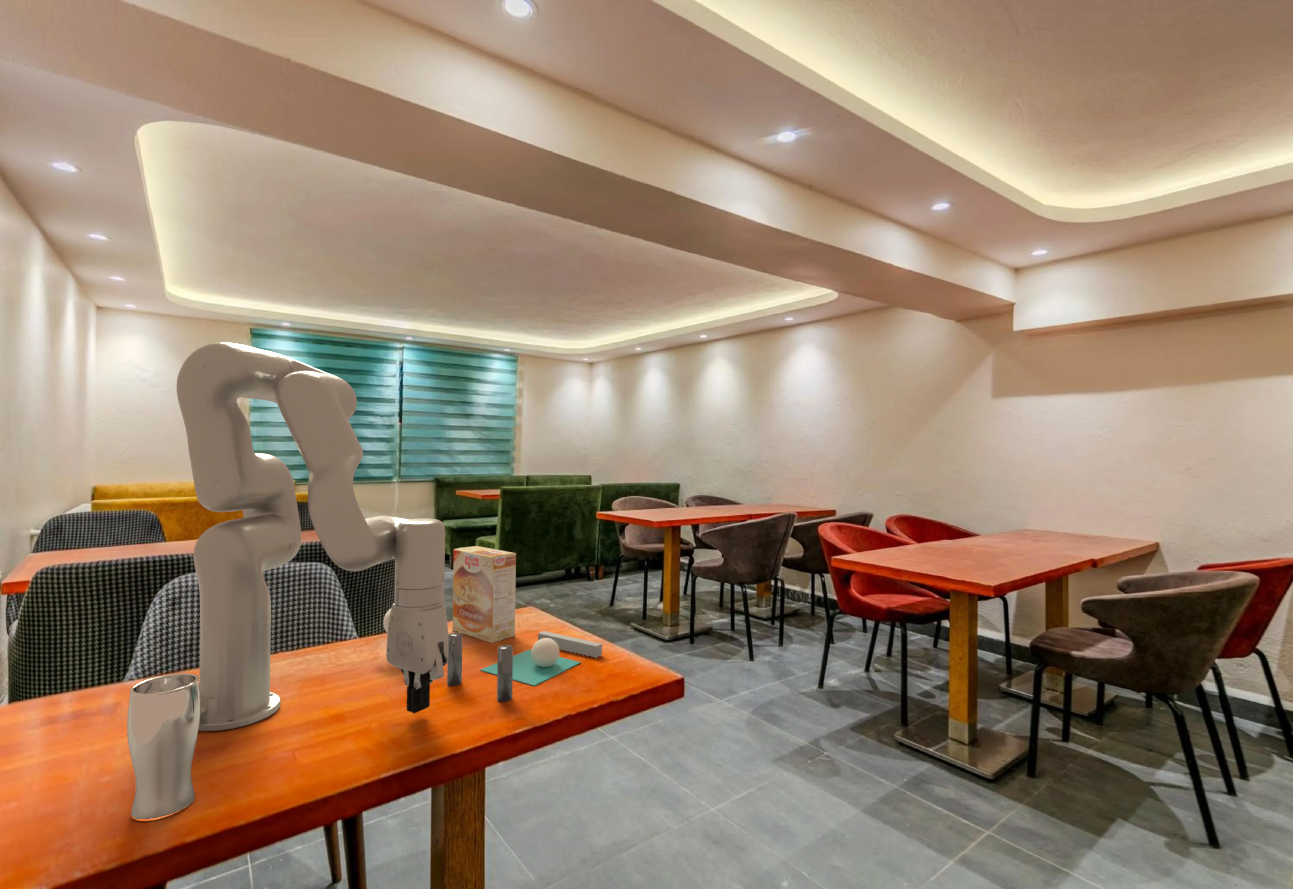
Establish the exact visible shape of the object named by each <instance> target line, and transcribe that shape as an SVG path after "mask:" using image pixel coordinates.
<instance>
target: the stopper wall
mask: <svg viewBox="0 0 1293 889" xmlns="http://www.w3.org/2000/svg"><path fill="white" fill-rule="evenodd" d="M543 638H550V639H552V640H554V641H555V642H556V643H557V644H558V646H559V649H560V651H564V650H565V651H564V652H568V651H569V652H568V653H572V652H573V653H572V654H576V653H578V654H577V655H580V654H582V655H581V656H584V655H586V656H585V657H589V656H591V657H590V658H593V657H595V658H594V659H598V658H600V657H602V656H603V643H601V642H596V641H592V640H587V639H583V638H577V637H574V636H568V635H564V634H560V633H555V632H551V631H546V630H543V631H540V632H538V633H537V641H538V640H540V639H543ZM601 655H602V656H601ZM599 656H600V657H599ZM597 657H598V658H597Z"/></svg>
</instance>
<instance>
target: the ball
mask: <svg viewBox="0 0 1293 889" xmlns="http://www.w3.org/2000/svg"><path fill="white" fill-rule="evenodd" d="M531 650H532V651H531V656H532V659H533V661H534V663H535V664H536V665H538V666H540V667H550V666H552V665H553V664H555V662H556V661H557V660H558V658H559V657H560V654H561V653H560V651H561V650H559V646H558V644H557V643H556V642H555V641H554V640H552V639H550V638H543V639H540V640H538V639H537V641H535V643H534V644H533V646H532V648H531Z"/></svg>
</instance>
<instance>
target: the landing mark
mask: <svg viewBox="0 0 1293 889" xmlns="http://www.w3.org/2000/svg"><path fill="white" fill-rule="evenodd" d="M531 651H532V649H527V650H524V651H522V652H520V653H518V654H514V655H513V680H512V681H515V682H519V683H522V684H524V685H530V686H532V687H535V686H538V685H540V684H541V683H542V684H543V683H544V682H546V681H548V680H550V679H552V678H554V677H556V676H557V675H560V674H562V673H565V672H566V671H567V669H568V670H570V669H572V668H574V667H576V666H578V665H580V664H582V661H577V660H574V659H569V658H565V657H561V656H559V658H558V660H557V661H556V662H555V664H553V665H552V666H550V667H540V666H538V665H536V664H535V663H534V661H533V659H532V656H531ZM579 663H580V664H579ZM577 664H578V665H577ZM573 666H574V667H573ZM571 667H572V668H571ZM480 671H481V672H484V673H487V674H490V675H494V676H497V662H495V663H493V664H490V665H488V666H485V667H484V668H481V669H480Z"/></svg>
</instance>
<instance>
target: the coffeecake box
mask: <svg viewBox="0 0 1293 889" xmlns="http://www.w3.org/2000/svg"><path fill="white" fill-rule="evenodd" d="M452 559H453V562H452V563H453V564H452V565H453V566H452V568H453V572H452V573H453V574H452V576H453V577H452V628H451V629H452V631H453V632H456V631H457V632H456V633H459V632H460V633H462V635H465V636H469V637H472V638H475V639H479V640H481V641H485V642H488V643H491V644H494V643H498V642H501V641H503V640H506V638H507V639H509V638H512V637H515V636H516V590H517V589H516V588H517V587H516V585H517V583H516V581H517V580H516V578H517V576H516V573H517V569H516V567H517V553H516V552H510V551H507V550H501V549H495V548H489V547H484V546H478V545H474V546H473V545H472V546H466V547H465V546H464V547H458V548H454V549H453V558H452ZM497 641H498V642H497Z"/></svg>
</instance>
